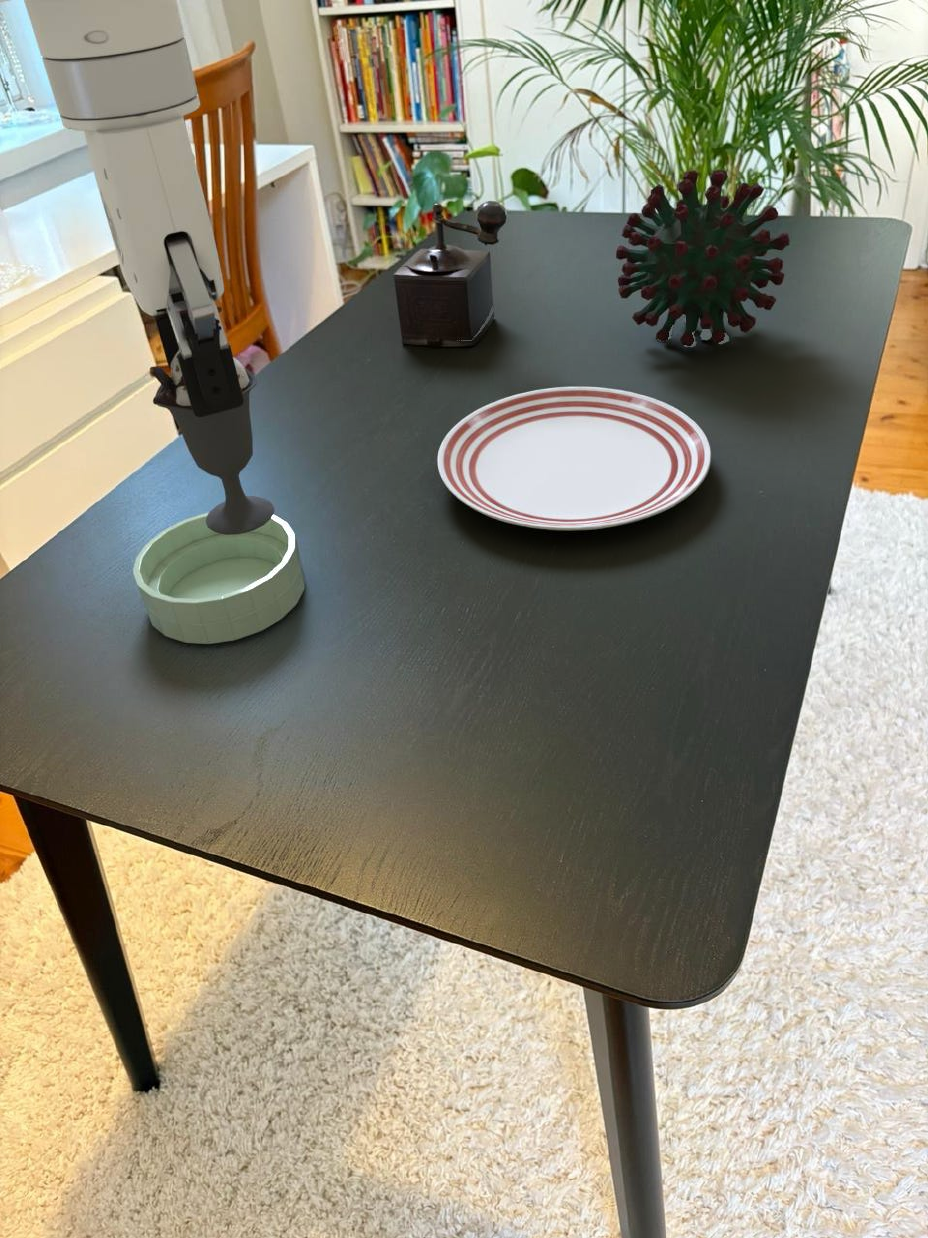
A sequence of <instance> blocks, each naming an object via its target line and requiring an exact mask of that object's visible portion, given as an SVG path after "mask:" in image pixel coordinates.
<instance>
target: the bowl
mask: <svg viewBox="0 0 928 1238" xmlns="http://www.w3.org/2000/svg"><path fill="white" fill-rule="evenodd" d="M209 512H210V511H209ZM209 512H204V513H202V514H198V515H196V516H192V517H189V518H186V519H183V520H181V521H179V522H177V523H175V524H173V525H171V526H169V527H167V528H165V529H163V530H162V531H160V532H159V533H158V534H157V535H155V536H154V537H152V538H151V539H150V540H149V541H148V542H146V543H145V545H144V546H143V548H142V549H141V550H140V551H139V553H138V555H136V557H135V560H134V564H133V570H132V575H133V577H134V578H133V579H134V581H135V582H136V586H137V588H138V591H139V593H140V597H141V599H142V602H143V604H144V608H145V610H146V613H147V616H148V618H149V620H150V623H151V625H152V627H153V628H154V629H156V630H157V631H158V632H160V633H161V634H162V635H163V636H164V637H166V638H170V639H173V640H176V641H178V642H182V643H186V644H201V645H212V644H220V643H226V642H233V641H237V640H240V639H242V638H245V637H246V638H247V637H248V636H251V635H254V634H257V633H260V632H262V631H265V630H266V629H267V628H269V627H270V626H272V625H274V624H275V623H278V622H279V621H281V620H282V619H283V618H284V617H285V616H286V615H288V613H290V612H291V611H292V609H294V608H295V607H296V605H298V603H299V600H300V598H301V596H302V595H303V592H304V591H305V588H306V587H305V571H304V567H303V563H302V562H303V561H302V558H301V554H300V550H299V545H298V541H297V537H296V534H295V532H294V531H293V529H292V527H291V526H290V525H289V523H288V521H285V520H283V519H282V518H280V517H279V516H277V515H275V514H273V516H272V518H271V519H270V520H269V521H268V522H267V523H266V524H264V525H263V526H261V527H259V528H257V529H255V530H253V531H250V532H247V533H242V534H235V535H225V534H220V533H216V532H214V531H212V530H211V529H209V528H208V527H207V524H206V518H207V515H208V514H209Z"/></svg>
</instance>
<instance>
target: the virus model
mask: <svg viewBox="0 0 928 1238" xmlns="http://www.w3.org/2000/svg"><path fill="white" fill-rule="evenodd" d="M698 177H699V172H698V171H697V170H696V169H692V170H688V171H684V173H683V175H682V179H683V180H681V181H680V182H679V183H678V184H677V187H676V188H677V191H678V192H679V193H680V194H681V198H680V199H679V200H677V201H676V204H675V208H674V207H673V206H672V205H671V203H670V202H669V200H668V198H667V196H666V194H665V187H664V185H662V184H660V183H658V184H657V185H655V186H654V187H653V188H652V189H650V194H649V196H648V197H647V199H646V200H647V201H646V202H647V203H646V204H645V205H644V206H642V208H641V212H640V213H641V215H642V216H643V218H646V219H649V220H652V222H654V224H655V225H654V224H652V223H648V222H647V221H645V220H644V219H642V218H641V217H640V215H639V214H638V213H637V212H634V213H633V212H632V213H630V215H629V217H628V219H627V221H626V224H625V225H624V226H623V228H622V231H621V237H623V238H624V239H628V242H627V243H628V244H629V245H631V246H633V247H637V246H643V247H645V249H641V250H639V249H629V248H627V247H626V246H624V245H619V246H617V249H616V250H615V251H616V252H615V259H617V260H620V261H622V260H625V259H626V262H624V263H623V264H622V267H621V272H622V274H621V275H619V276H618V277H617V284H618V293H619V296H620V298H621V299H628V298H629V297H630V296H631V295H632V294H633V293H636V292H637V291H640V297H641V298H642V299H644V300H646V301H649V303H647V304H646V305H645V306H644V307H643V308H641V310H639V311H636V312H634V313H633V315H632V316H631V319H632V320H633V321H634V322H635V324H637V326H640V325H642V324H644V323H645V324H646V325H648V326H650V327H654V326H657V325H658V322H659V320H660V317H661V316H662V315H663V314H664V313H665V312H666V311H667V310H668V312H667V316H666V320H665V322H664V324H663V326H662V327H661V329H659V330H658V331H657V332H656V333H655V339H656V340H657V339H659V340H661V341H666V340H668V337H669V331H670V329H671V327H672V325H674V324H675V325H676V322H677V320H678V319H680V318H681V317H682V316H685V317H686V325H685V328H684V329H685V330H684V332H683V334H682V336H681V337H680V339H679V341H680V343H681V344H682V346H683V345H687V346H691V345H692V344H693V342H694V338H693V335H692V332H694V331H695V330H696V331H697V329H698V324H699V325H700V328H701V329H709V328H710V329H711V331H712V338H711V341H712V342H714V343H716V344H717V343H719V342H721V341H723V340H724V337H725V334H724V333H726V332H727V331H726V329H725V322H724V318H725V314H726V319H727V318H728V323H729V324H728V325H729V326H730V327H732V328H735V327H739V331H741V332H743V333H748V332H749V331H750V330H751V329H752V328H754V327H755V325H756V323H757V318H756V317H755V316H753V315H751V314H749V313H748V312H747V311H746V309H745V308H744V306H743V303H742V302H746V301H747V300H751V301H752V302H753V303H754V305H755V307H756V308H758V309H761V308H762V309H764V310H767V311H771V310H772V308H773V307H774V306H775V303H776V302H777V298H776V297H775V296H774V295H768V294H767V293H763V292H760V291H759V290H758V289H760V290H761V289H763V288H766V287H767V286H768V284H769V281H770V282H771V283H772V284H774V285H775V286H782V284H783V283H784V278H785V274H784V272H782V270H783V267H784V260H783V259H782V258H780V257H778V256H777V257H774V258H772V259H769V260H768V259H762V258H760V257H764V256H765V255H766V254H768V251H770V250H775V251H782V252H783V251H784V249H785V248H786V247H788V246H790V237H789V233H788V232H782V233H780V234H779V235H777V236H776V237H772V238H771V231H770V230H767V229H764V228H762V229H761V230H760V231H759V232H758V233H757V234H755V235H752V234H753V233H754V232H756V231H757V230H758V229H759V228H760V227H762V226H763V225H764V224H765V223H766V222H771V221H775V220H777V218H778V217H779V211H778V210H777V207H774V206H773V205H772V204H771V205H770V204H768V205H767V206H764V208H763V209H762V211H761V212H760V213H759V215H757V216H755V217H753V218H752V219H751V220H746V221H745V220H744V215H745V213H746V211H747V209H748V208H749V207H750V206H751V204H752V203H753V201H754V200H756V199H758V198H759V197H760V196H762V194H764V193H763V192H764V191H765V188H764V187H763V186H761V185H760V184H759V183H758V182H755V183H753V184H751V185H749V183H748V182H747V183H746V182H741V183H740V184H738V186H737V188H736V191H735V193H734V197H733V201H732V202H731V203H730V197H729V196H728V195H722V190H723V186H724V185H725V183H726V182H727V179H728V178H729V174H728V172H727V170H724V169H716V170H714V171H712V172H711V174H710V175H709V180H710V186H708V188H706V190H705V193H704V197H705V199H706V203H705V204H703V203H700V200H699V195H698V189H697V188H698V187H697V181H698ZM635 228H636V229H639V230H640V231H642V232H644V233H642V232H640V231H637V230H636V229H635ZM756 257H759V258H756ZM767 270H768V271H767ZM752 284H753V285H755V286H756V287H757V288H758V289H756V288H755V287H754V286H753V285H752ZM699 321H700V322H699ZM675 325H674V326H675ZM659 340H658V341H659ZM661 341H660V342H661ZM668 341H669V340H668ZM666 342H667V341H666Z"/></svg>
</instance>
